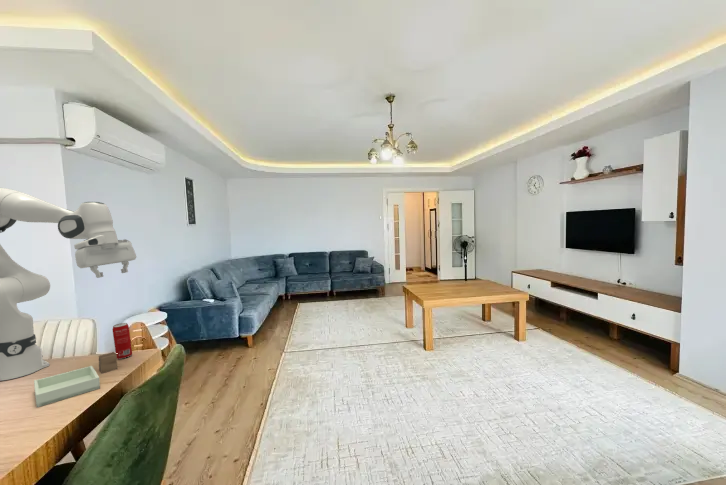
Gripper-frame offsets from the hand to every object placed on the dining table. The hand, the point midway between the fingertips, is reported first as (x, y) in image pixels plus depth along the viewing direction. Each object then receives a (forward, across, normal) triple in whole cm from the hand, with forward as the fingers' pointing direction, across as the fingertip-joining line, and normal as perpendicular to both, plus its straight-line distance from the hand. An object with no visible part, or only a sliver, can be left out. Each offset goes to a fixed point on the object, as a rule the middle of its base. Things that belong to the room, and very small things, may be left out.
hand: (112, 274), depth 125 cm
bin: (+37, +19, -9) cm, 42 cm away
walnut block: (+37, +3, -13) cm, 39 cm away
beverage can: (+36, -8, -20) cm, 42 cm away
